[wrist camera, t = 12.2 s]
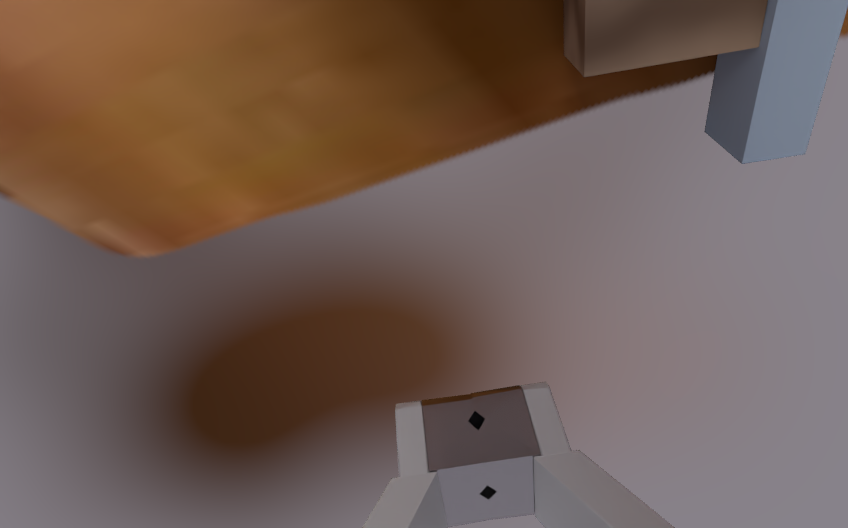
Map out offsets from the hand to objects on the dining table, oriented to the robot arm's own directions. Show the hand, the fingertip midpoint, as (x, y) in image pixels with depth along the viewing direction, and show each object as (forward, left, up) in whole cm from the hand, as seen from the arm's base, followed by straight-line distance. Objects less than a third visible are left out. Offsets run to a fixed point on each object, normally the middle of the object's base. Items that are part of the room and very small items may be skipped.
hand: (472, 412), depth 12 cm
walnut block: (0, +15, -29) cm, 33 cm away
